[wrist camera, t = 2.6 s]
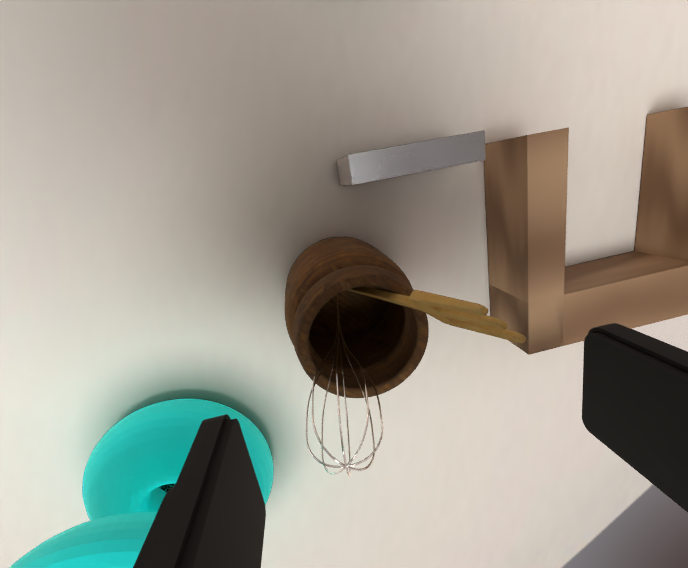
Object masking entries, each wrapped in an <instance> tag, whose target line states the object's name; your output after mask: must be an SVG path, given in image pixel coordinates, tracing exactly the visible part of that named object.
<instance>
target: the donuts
mask: <svg viewBox="0 0 688 568" xmlns="http://www.w3.org/2000/svg"><path fill="white" fill-rule="evenodd" d="M226 414H227V415H229V417H230V418H231V419H235V418H236V419H237V420H238V421H239V424H240V427H241V430H242V433H243V436H244V439H245V442H246V446H247V449H248V452H249V455H250V458H251V461H252V464H253V467H254V471H255V474H256V477H257V480H258V483H259V486H260V489H261V492H262V496H263V499H264V503H265V505H266V502H267V500H268V498H269V495H270V491H271V488H272V483H273V459H272V455H271V452H270V449H269V446H268V444H267V441H266V439H265V438H264V436H263V435H262V433H261V432H260V431H259V429H258V428H257V427H256V426H255V425H254V424H253V423H252V422H251V421H250V420H249V419H248V418H247V417H245V416H244V415H243V414H241V413H239V412H238V411H236V410H234V409H232V408H230V407H228V406H225V405H223V404H220V403H216V402H213V401H208V400H202V399H174V400H167V401H163V402H159V403H155V404H152V405H149V406H146V407H143V408H141V409H139V410H137V411H135V412H133V413H131V414H129V415H128V416H126V417H125V418H123V419H122V420H121V421H119V422H118V423H117V424H115V425H114V426H113V427H112V428H111V429H110V430H108V432H107V433H106V434H105V435H104V436H103V437H102V438H101V440H100V441H99V442H98V444H97V445H96V447H95V448H94V450H93V451H92V453H91V455H90V458H89V460H88V462H87V465H86V468H85V471H84V476H83V486H82V493H83V501H84V504H85V508H86V511H87V514H88V516H89V519H90V520H91V521H88V522H85V523H82V524H80V525H77V526H75V527H72V528H70V529H68V530H66V531H64V532H62V533H60V534H57V535H55V536H54V537H52V538H50V539H48V540H46V541H45V542H43V543H41V544H40V545H38V546H37V547H35V548H34V549H33V550H31V551H30V552H28V553H27V554H26V555H24V556H23V557H22V558H20V559H19V560H18V561H17V562H15V563H14V564H13V565H12V566H11V567H10V568H133V566H134V564H135V562H136V560H137V557H138V555H139V553H140V551H141V548H142V546H143V544H144V541H145V539H146V537H147V535H148V532H149V530H150V528H151V526H152V523H153V521H154V519H155V516H156V514H157V512H158V510H159V507H160V505H161V503H162V501H163V498H164V496H165V495H166V493H167V492H166V491H164V490H162V489H160V488H159V487H160V486H162V485H166V484H176V482H177V479H178V477H179V475H180V472H181V470H182V468H183V465H184V463H185V460H186V458H187V456H188V453H189V451H190V448H191V446H192V444H193V441H194V439H195V437H196V434H197V432H198V429H199V427H200V425H201V423H202V421H203V420H205V419H209V418H213V417H217V416H221V415H226Z"/></svg>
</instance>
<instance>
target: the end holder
mask: <svg viewBox="0 0 688 568" xmlns="http://www.w3.org/2000/svg"><path fill="white" fill-rule="evenodd" d="M568 133H569V128H564V129H559V130H553V131H548V132H542V133H537V134H531V135H526V136H521V137H517V138H512V139H507V140H503V141H498V142H494V143H489V144H485V159H486V160H484V175H485V198H486V221H487V243H488V266H489V289H490V311H491V317H495V318H499V319H501V320H503V321H505V322H506V323H507V324H508V326H507V328H506V329H508V330H511V331H515V332H518V333H520V334H522V335H524V336H525V337H526V341H525V342H524V343H519V342H515V341H511V340H509V341H510V342H512V343H513V344H514V345H516V346H517V347H519V348H520V349H522V350H523V351H524V352H526V353H527V354H533V353H537V352H541V351H545V350H549V349H553V348H556V347H560V346H564V345H568V344H572V343H576V342H580V341H584V340H585V337H586V336H587V335H588V332H589V330H590V329H592V328H594V327H598V326H603V325H607V324H611V323H617V324H620V325H623V326H625V327H628V328H630V329H632V328H635V327H639V326H643V325H647V324H651V323H655V322H659V321H663V320H667V319H671V318H675V317H679V316H683V315H687V314H688V107H684V108H679V109H674V110H669V111H664V112H659V113H654V114H649V115H647V123H646V134H645V144H644V155H643V166H642V176H641V187H640V198H639V209H638V219H637V230H636V241H635V251H633V252H629V253H624V254H620V255H615V256H611V257H607V258H602V259H598V260H593V261H589V262H585V263H580V264H576V265H572V266H567V267H565V239H566V204H567V168H568Z"/></svg>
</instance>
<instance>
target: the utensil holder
mask: <svg viewBox="0 0 688 568" xmlns="http://www.w3.org/2000/svg"><path fill="white" fill-rule="evenodd" d="M426 313H427V314H429V315H431V316H432V317H434V318H436V319H438V320H440V321H441V322H443V323H446V324H449V325H452V326H456V327H460V328H464V329H468V330H472V331H476V332H479V333H483V334H487V335H491V336H495V337H499V338H503V339H507V340H511V341H515V342H519V343H524V342H525V341H526V337H525V336H524V335H522V334H520V333H518V332H515V331H511V330H508V329H506V328H507V326H508V324H507V323H506V322H505V321H503V320H501V319H499V318H495V317H491V316H487V315H486V314H487V313H488V309H487V308H486V307H484V306H482V305H480V304H477V303H472V302H468V301H463V300H459V299H454V298H450V297H446V296H441V295H437V294H432V293H428V292H423V291H418V290H413V288H412V286H411V284H410V282H409V280H408V278H407V277H406V275H405V274H404V273H403V271H402V270H401V269H400V268H399V267H398V266H397V265H396V264H395V263H394V262H393V261H392V260H391V259H389V258H388V257H387V256H386V255H384V254H383V253H382V252H380V251H379V250H377V249H376V248H374V247H373V246H371V245H369V244H367V243H365V242H363V241H361V240H358V239H354V238H349V237H333V238H328V239H324V240H322V241H319V242H317V243H315V244H313V245H312V246H310V247H309V248H307V249H306V250H305V251H304V252H303V253H302V254H301V255H300V256H299V257H298V258H297V260H296V261H295V263H294V264H293V266H292V268H291V270H290V272H289V275H288V279H287V283H286V290H285V320H286V326H287V330H288V334H289V336H290V339H291V341H292V343H293V345H294V347H295V351H296V354H297V356H298V359H299V361H300V363H301V365H302V367H303V369H304V370H305V372H306V373H307V375H308V376H309V377H310V378H311V379H312V380H313V387H312V390H311V392H310V395H309V399H308V404H307V412H306V444H307V447H308V450H309V452H310V453H311V455H312V456H313V457H314V459H315V460H317V461H318V462H319V463H321V464H323V466H324V468H325V470H326V471H327V472H328V473H330V474H337V473H340V472H341V471H343V470H344V469H345V468H346V471H347V475H348V476H350V474H351V469H352V470H356V471H361V470H365V469H367V468H368V467H369V466H370V465H371V464H372V462H373V459H374V455H375V451H376V450H377V448H378V447H379V445H380V443H381V440H382V436H383V422H382V414H381V407H380V402H379V397H378V395H379V394H382V393H385V392H387V391H389V390H391V389H393V388H394V387H396V386H398V385H399V384H400V383H402V382H403V381H404V380H405V379H407V378H408V377H409V376H410V375H411V373H412V372H413V371H414V370H415V369H416V367H417V366H418V364H419V363H420V361H421V359H422V357H423V355H424V352H425V349H426V346H427V342H428V332H429V331H428V320H427V316H426ZM315 384H317V385H318V386H320V387H321V388H323V389H324V390H326V395H325V400H324V406H323V413H322V425H321V441H320V439H319V436H318V434H317V432H316V429H315V425H314V419H313V392H314V386H315ZM327 392H330V393H333V394H335V395H337V402H338V417H339V427H340V436H341V444H342V451H343V457H344V462H345V464H343V463H341V462H339V461H338V460H337V459H335V458H334V457H333V456H332V455H331V454H330V453H329V452H328V451H327V450H326V448H325V447H324V445H323V415H324V408H325V402H326V397H327ZM311 393H312V423H313V428H314V431H315V434H316V436H317V438H318V440H319V442H320V444H321V453H322V462H321V461H320V460H318V459H317V458H316V457H315V456H314V455H313V453H312V452H311V450H310V448H309V445H308V440H307V418H308V406H309V400H310V397H311ZM376 395H377V399H378V404H379V410H380V418H381V429H382V431H381V438H380V441H379V443H378V445H377V447H376V448H375V443H374V435H373V426H372V420H371V414H370V410H369V405H368V397H372V396H376ZM339 396H343V397H344V398H345V409H346V421H347V435H348V451H349V463H348V464H346V459H345V453H344V446H343V439H342V430H341V421H340V409H339ZM346 397H348V398H365V401H366V404H367V422H366V428H365V432H364V435H363V438H362V441H361V444H360V446H359V448H358V450H357V452H356V453H355V455H354V456H353V458H352V459H351V460H350V445H349V430H348V417H347V406H346ZM369 416H370V422H371V429H372V438H373V452H372V453H371V454H370V455H369V456H368V457H367V458H365V459H364V460H362V461H360V462H358V463H354V464H351V462H352V461H353V459H354V458H355V457H356V455H357V453H358V452H359V450H360V448H361V446H362V443H363V441H364V438H365V435H366V431H367V426H368V420H369ZM323 449H324V450H325V451H326V452H327V454H328V455H329V456H330V457H331V458H332V459H334V460H335V461H336V462H338V463H339V464H341V465H343V466H333V465H328V464H325V463H324V459H323ZM372 455H373V457H372V460H371V462H370V464H369V465H368V466H367V467H365V468H362V469H356V468H352V467H351V466H355V465H358V464H360V463H362V462H364V461H366V460H367V459H369V458H370V457H371V456H372ZM326 466H328V467H333V468H342V469H341V470H339V471H337V472H330V471H328V469H327V468H326ZM348 468H349V472H348Z"/></svg>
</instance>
